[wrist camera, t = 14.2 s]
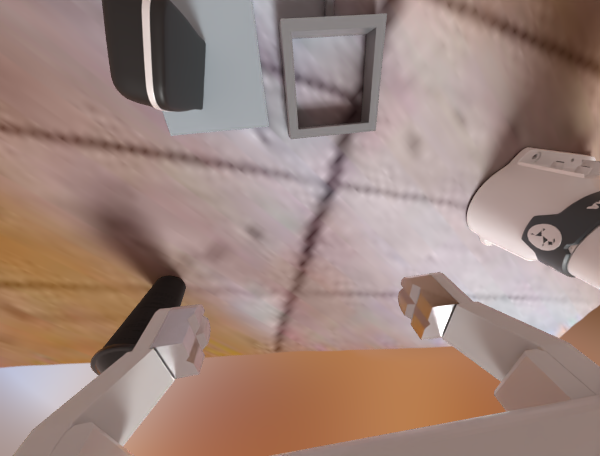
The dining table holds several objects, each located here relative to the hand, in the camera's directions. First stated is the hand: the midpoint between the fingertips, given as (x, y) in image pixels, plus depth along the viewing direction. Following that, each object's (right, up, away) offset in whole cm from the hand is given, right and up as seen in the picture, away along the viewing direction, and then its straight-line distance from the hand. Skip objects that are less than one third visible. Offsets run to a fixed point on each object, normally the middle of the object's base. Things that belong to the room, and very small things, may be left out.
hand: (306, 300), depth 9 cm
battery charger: (-13, +20, +15) cm, 28 cm away
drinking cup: (-23, -7, +29) cm, 38 cm away
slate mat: (-11, +21, +15) cm, 28 cm away
